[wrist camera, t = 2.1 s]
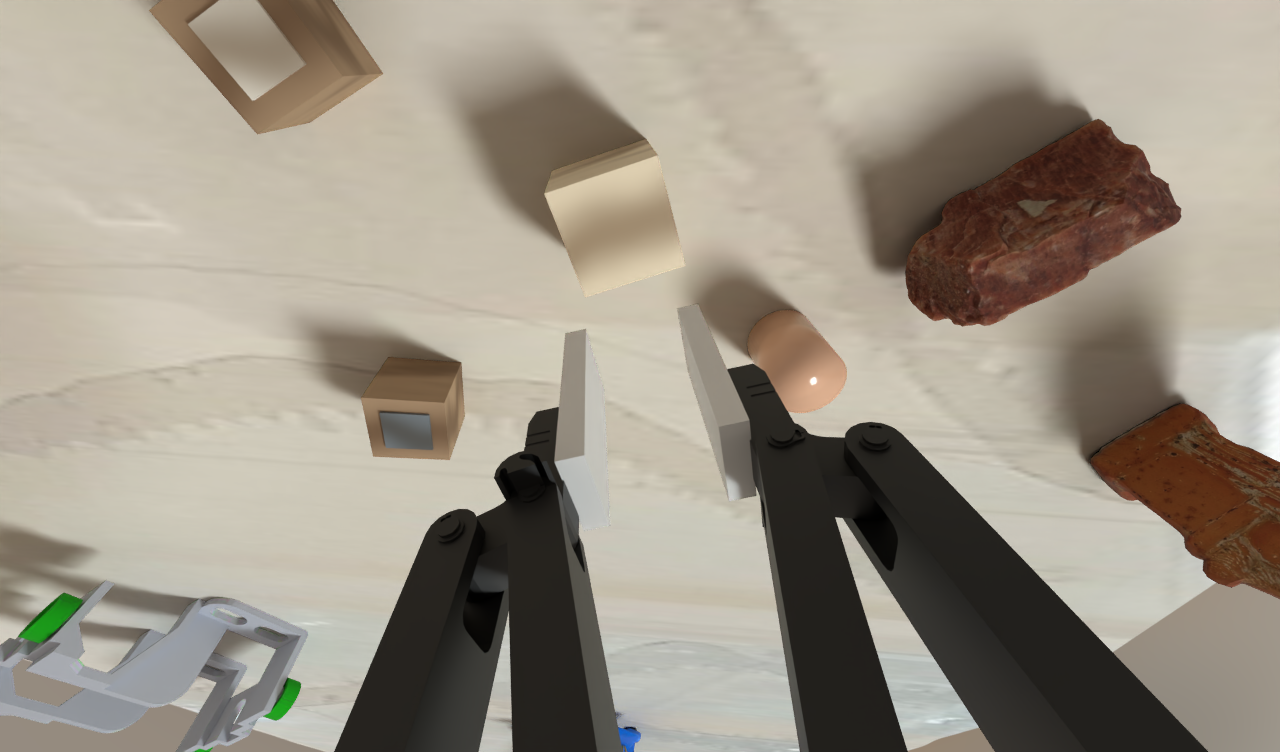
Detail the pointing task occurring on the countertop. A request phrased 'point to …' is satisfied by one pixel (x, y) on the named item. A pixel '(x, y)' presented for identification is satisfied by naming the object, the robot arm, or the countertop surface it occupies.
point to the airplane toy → (628, 739)
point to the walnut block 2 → (414, 408)
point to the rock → (1038, 228)
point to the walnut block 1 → (272, 55)
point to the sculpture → (1203, 493)
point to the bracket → (155, 670)
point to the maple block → (615, 217)
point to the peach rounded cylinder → (796, 360)
